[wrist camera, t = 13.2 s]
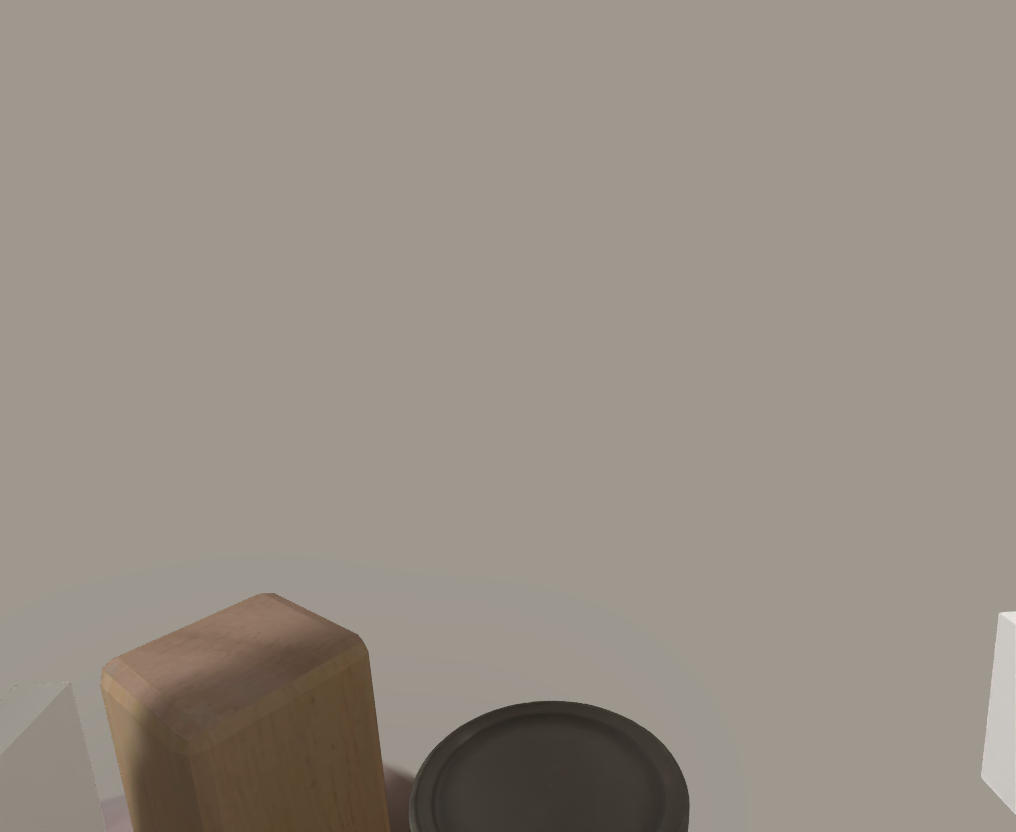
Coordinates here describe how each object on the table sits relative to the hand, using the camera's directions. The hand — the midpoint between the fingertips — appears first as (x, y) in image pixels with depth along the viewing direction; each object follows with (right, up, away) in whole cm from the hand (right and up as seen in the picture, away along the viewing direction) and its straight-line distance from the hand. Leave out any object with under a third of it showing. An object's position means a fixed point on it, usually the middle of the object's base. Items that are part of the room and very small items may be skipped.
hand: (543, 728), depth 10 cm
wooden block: (-13, -27, +30) cm, 42 cm away
